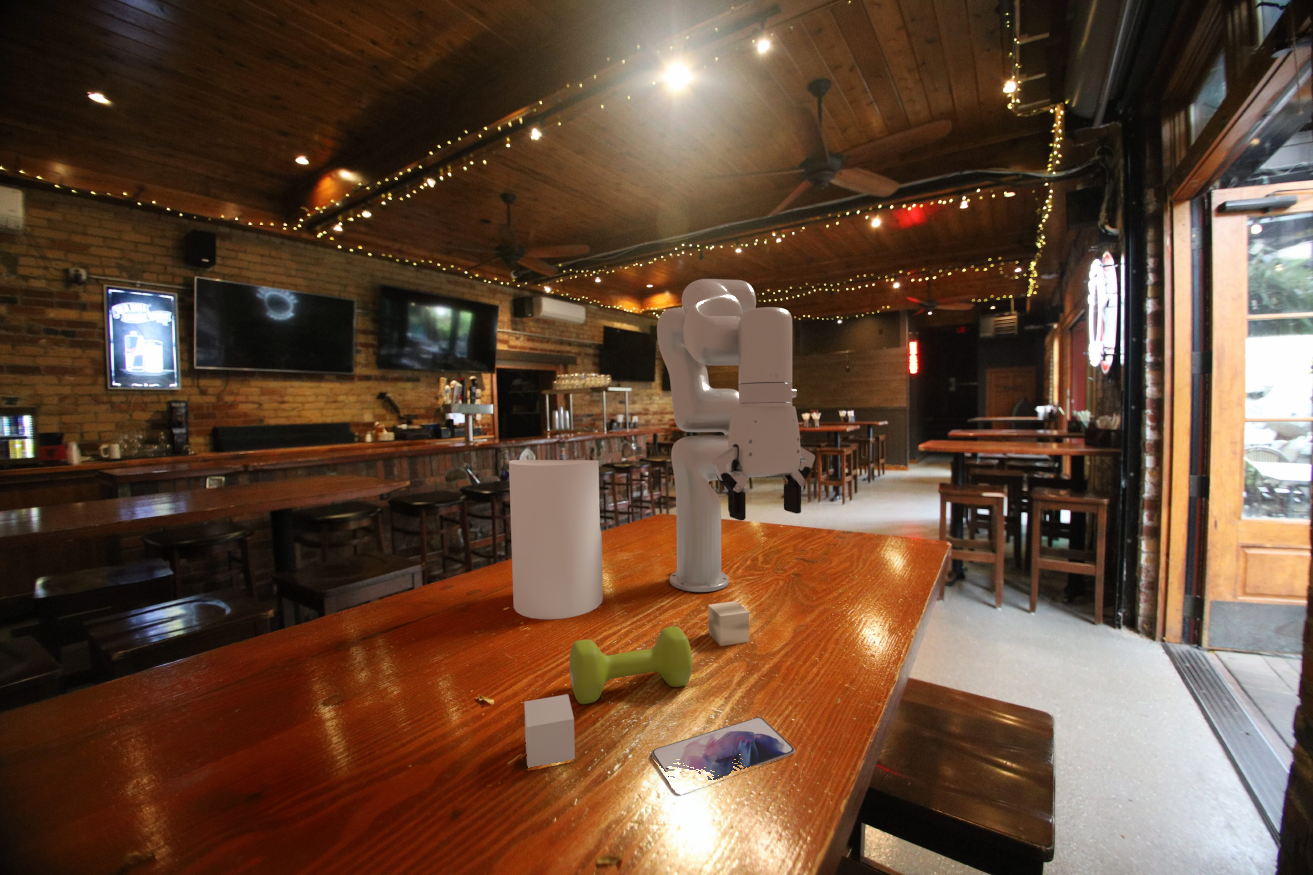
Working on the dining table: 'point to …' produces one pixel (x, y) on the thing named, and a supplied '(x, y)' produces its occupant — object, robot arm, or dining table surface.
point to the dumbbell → (629, 664)
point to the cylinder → (555, 537)
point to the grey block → (549, 730)
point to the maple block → (728, 623)
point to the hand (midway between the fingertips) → (765, 515)
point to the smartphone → (726, 749)
